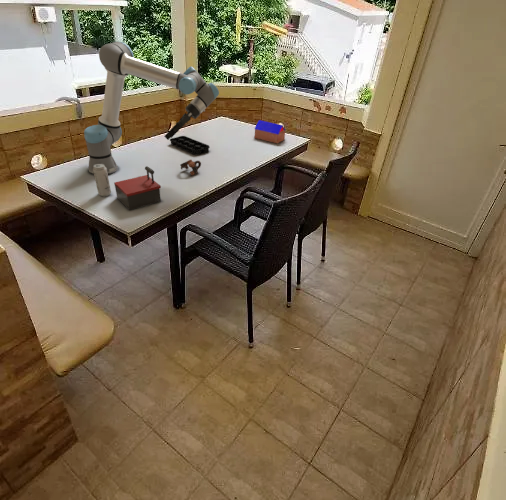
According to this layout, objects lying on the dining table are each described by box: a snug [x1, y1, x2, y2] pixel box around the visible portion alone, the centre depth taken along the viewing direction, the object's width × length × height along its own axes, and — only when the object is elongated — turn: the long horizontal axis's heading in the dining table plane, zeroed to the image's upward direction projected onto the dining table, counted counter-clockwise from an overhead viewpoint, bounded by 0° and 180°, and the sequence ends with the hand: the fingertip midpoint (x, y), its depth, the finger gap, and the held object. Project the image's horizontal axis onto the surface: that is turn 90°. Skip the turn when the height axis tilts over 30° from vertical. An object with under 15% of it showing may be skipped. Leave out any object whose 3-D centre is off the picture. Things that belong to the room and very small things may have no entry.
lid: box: [113, 165, 162, 197], centre depth 166 cm, size 17×15×8 cm
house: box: [254, 119, 287, 144], centre depth 256 cm, size 12×20×12 cm, turn 58°
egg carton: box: [169, 135, 210, 156], centre depth 234 cm, size 18×30×4 cm, turn 60°
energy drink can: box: [93, 164, 112, 197], centre depth 170 cm, size 6×6×15 cm
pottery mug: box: [180, 159, 202, 176], centre depth 201 cm, size 12×10×8 cm
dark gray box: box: [114, 184, 162, 211], centre depth 170 cm, size 16×15×7 cm
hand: (167, 137), depth 181 cm, fingers open, 13 cm apart
